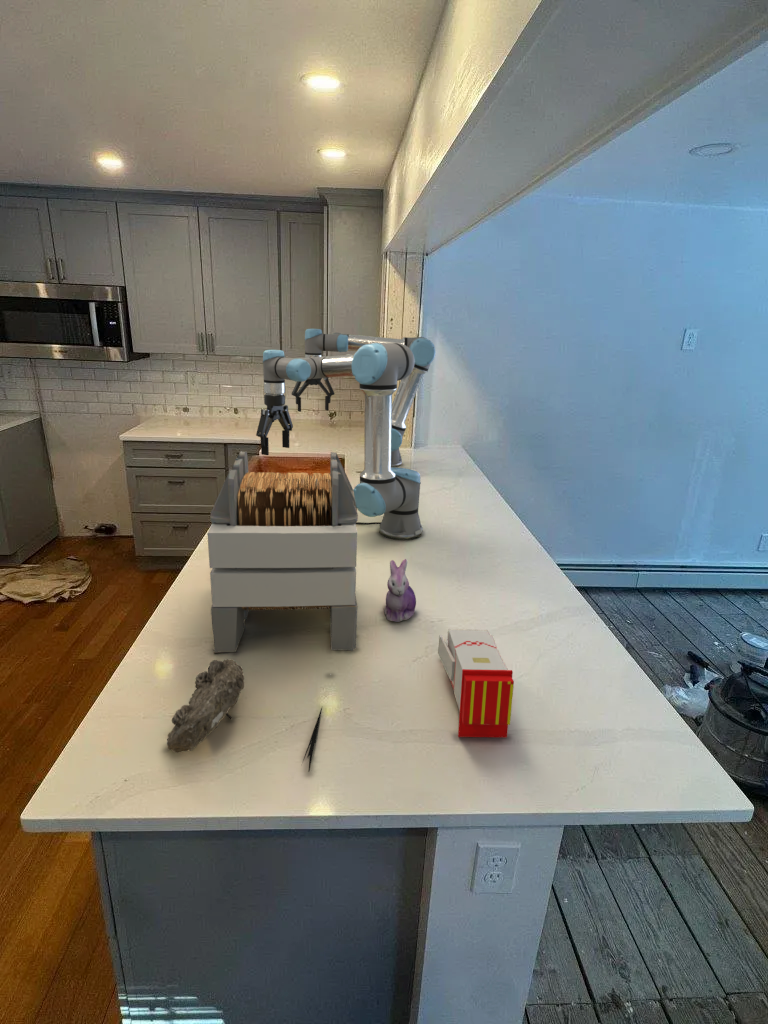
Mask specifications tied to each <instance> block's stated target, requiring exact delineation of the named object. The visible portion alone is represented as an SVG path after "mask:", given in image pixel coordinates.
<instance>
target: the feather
mask: <svg viewBox="0 0 768 1024" xmlns="http://www.w3.org/2000/svg"><path fill="white" fill-rule="evenodd" d="M329 675H330V676H331V675H332V674H331V673H330V674H329ZM322 710H323V707H321V708H320V710H319V713H318V716H317V719H316V723H315V725H314V728H313V731H312V733H311V737H310V739H309V742H308V745H307V748H306V751H305V754H304V757H303V760H302V763H301V767H302V765H303V763H304V761H305V758H308V759H309V760H308V762H307V763H308V764H307V766H308V771H310V770H311V766H312V765H311V764H312V760H313V757H315V756H314V755H315V751H316V749H315V746H317V739H318V733H319V729H320V722H321V717H322V712H323V711H322ZM313 754H314V755H313ZM306 755H307V757H306Z"/></svg>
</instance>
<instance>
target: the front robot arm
mask: <svg viewBox="0 0 768 1024" xmlns="http://www.w3.org/2000/svg"><path fill="white" fill-rule="evenodd" d="M414 364H415V359H414V355H413V353H412V351H411V350H410V349H409V348H408V347H407V346H406V345H404V344H401V343H371V344H366V345H363V346H362V347H360V348H359V349H358V351H355V353H348V354H336V355H324V356H323V355H322V357H311V358H305V357H286V356H285V352H284V350H282V349H265V350H264V351H263V353H262V371H263V372H262V373H263V393H264V395H263V404H264V405H265V406H266V409H265V408H264V409H263V408H261V410H260V417H259V422H258V426H257V429H256V434H255V435H256V437H258V438H260V452H261V455H263V456H269V455H270V448H269V447H270V446H269V445H270V444H269V437H268V435H269V432H270V430H271V428H272V425H273V424H274V422H275V421H277V420H278V422H279V424H280V426H281V428H282V429H283V430H281V440H282V443H281V445H282V448H286V449H290V432H292V431H293V428H294V425H293V421H292V418H291V415H290V412H289V405H288V404H286V395H285V393H286V380H288V381H291V382H295V383H297V382H298V381H300V382H301V383H304V382H305V381H306V380H307V379H316V378H322V379H323V378H328V379H329V378H348V377H354V379H355V381H356V382H357V383H358V384H359V391H361V392H362V394H363V395H364V399H363V400H364V403H363V404H364V405H363V407H364V408H363V409H364V414H363V415H364V420H363V421H364V422H363V423H364V424H363V425H364V427H363V429H364V432H363V433H364V440H363V441H364V442H363V443H364V445H363V447H364V449H363V450H364V451H363V453H364V455H363V456H364V461H363V462H364V464H363V465H364V469H363V470H362V471H361V472H360V473H359V483H357V484H356V485H355V487H354V488H353V490H354V497H355V502H356V508H357V511H358V512H359V513H360V514H362V515H363V516H365V517H368V518H375V517H381V516H382V519H381V521H379V522H378V521H377V522H376V521H374V522H373V521H371V522H362V521H361V522H359V521H357V522H356V525H359V526H360V525H365V526H370V525H372V526H373V525H378V533H379V534H380V535H381V536H382V537H385V538H387V539H389V540H395V541H410V540H415V539H418V538H420V537H421V536H422V535H423V525H422V524H421V518H420V515H419V507H420V506H419V505H420V494H421V493H420V492H421V482H422V481H421V474H420V472H418V471H417V470H414V469H411V468H406V467H391V432H392V403H393V394H394V393H395V392H397V390H398V381H399V382H400V381H401V380H402V379H405V378H406V377H408V376H409V375H410V374H411V372H412V370H413V368H414Z"/></svg>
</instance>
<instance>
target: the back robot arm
mask: <svg viewBox="0 0 768 1024" xmlns="http://www.w3.org/2000/svg"><path fill="white" fill-rule="evenodd" d="M371 343H401V344H404V345H406V346H407V347H408V348H409V349H410V350H411V351H412V353H413V355H414V359H415V364H414V368H413V370H412V372H411V374H410V375H409V376H408V377H406V378H405V379H402V380H400V381H399V385H398V386H397V390H396V393H395V396H394V397H393V400H392V432H391V468H399V467H401V466H403V458H402V455H401V451H400V447H401V446H402V444H403V437H404V434H405V433H406V431H407V430H406V429H407V425H406V421H407V418H408V415H409V413H410V410H411V407H412V404H413V403H414V399H415V396H416V394H417V392H418V388H419V386H420V384H421V381H422V378H423V375H424V374H427V373H428V372H429V369H430V367H431V364H432V363H433V361H434V360H435V357H436V351H437V350H436V346H435V344H434V343H433V342H432V340H431V339H428V338H426V337H424V336H417V337H416V336H415V337H407V336H406V337H405V336H403V337H402V338H394V337H384V336H383V337H382V336H372V335H371V336H370V335H360V334H349V333H341V332H334V333H323V330H322V329H321V328H306V329H305V331H304V358H311V357H323V355H322V354H323V353H322V352H333V353H334V352H335V353H346V352H356V351H358V349H359V348H360V347H362V346H363V345H366V344H371ZM322 380H323V381H324V383H325V385H324V384H323V382H322ZM301 384H302V382H300V381H298V382H295V385H294V387H293V389H292V392H291V396H293V397H295V404H296V405H297V412H299V413H301V412H302V397H301V395H302V394H303V393H304V392H305V390H307V387H309V386H319V387H320V389H321V390H322V391H323V393H325V396H324V410H325V411H329V410H330V405H329V404H331V399H332V398H331V397H332V396H335V393H336V392H335V391H334V389H333V387H332V384H331V382H330V380H329V378H316V379H307V380H306V381H303V384H302V386H301Z"/></svg>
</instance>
